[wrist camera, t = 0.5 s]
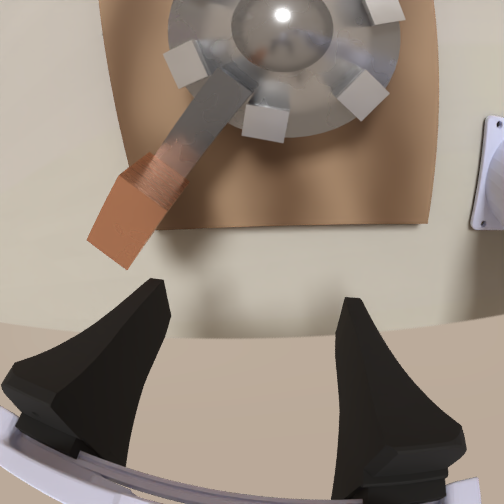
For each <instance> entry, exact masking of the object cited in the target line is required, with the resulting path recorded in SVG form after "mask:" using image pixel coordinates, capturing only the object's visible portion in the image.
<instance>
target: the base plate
mask: <svg viewBox="0 0 504 504" xmlns="http://www.w3.org/2000/svg"><path fill="white" fill-rule="evenodd" d="M398 1H399V4H400V6H401V9H402V11H403V14H404V17H405V19H406V20H404V21H400V22H399V25H400V51H399V58H398V61H397V65H396V68H395V71H394V73H393V75H392V77H391V80H390V82H389V84H388V85H387V87H386V88H385V89H386V90H387V91H388V92H389V93H390V94H389V95H388V96H387V97H386V98H385V99H384V100H383V101H382V102H381V103H380V104H379V105H377V106H376V107H375V108H374V109H373V110H372V111H371V112H370V113H369V114H368V115H367V116H366V117H365V118H364V119H363V120H362V121H360V120H359V119H358V118H357V117H356V118H355V119H353V120H352V121H350V122H348V123H346V124H344V125H342V126H340V127H338V128H336V129H333V130H330V131H327V132H324V133H320V134H316V135H311V136H304V137H294V138H288V137H285V138H284V143H279V142H274V141H269V140H264V139H258V138H253V137H247V136H242V129H240V128H237V127H235V126H233V125H231V124H229V123H228V124H227V125H226V126H225V127H224V128H223V130H222V131H221V132H220V134H219V135H218V136H217V137H216V139H215V140H214V141H213V142H212V144H211V145H210V146H209V148H208V149H207V150H206V151H205V153H204V154H203V155H202V157H201V158H200V159H199V161H198V162H197V163H196V165H195V166H194V167H193V169H192V170H191V171H190V173H189V174H188V175H187V177H186V179H187V180H188V181H190V182H189V184H188V185H187V186H186V188H185V189H184V190H183V192H182V193H181V195H180V196H179V197H178V199H177V200H176V201H175V203H174V204H173V206H172V207H171V208H170V210H169V211H168V213H167V214H166V215H165V217H164V218H163V220H162V221H161V222H160V224H159V225H158V227H157V228H156V230H173V229H195V228H220V227H249V226H283V225H328V224H428V217H429V211H430V204H431V197H432V189H433V181H434V172H435V161H436V150H437V135H438V113H439V64H438V43H437V29H436V18H435V9H434V1H433V0H398ZM172 3H173V0H99V8H100V16H101V24H102V31H103V38H104V45H105V51H106V58H107V64H108V70H109V75H110V81H111V86H112V91H113V97H114V102H115V107H116V111H117V116H118V121H119V125H120V130H121V134H122V139H123V143H124V147H125V151H126V156H127V160H128V164H129V167H130V166H131V165H133V164H134V163H135V162H137V161H138V160H139V159H141V158H142V157H143V156H145V155H146V154H147V153H149V152H151V153H152V154H153V155H155V154H156V152H157V151H158V149H159V148H160V146H161V145H162V143H163V142H164V140H165V139H166V137H167V136H168V134H169V133H170V131H171V130H172V128H173V127H174V125H175V124H176V123H177V121H178V120H179V118H180V117H181V115H182V114H183V113H184V111H185V110H186V108H187V107H188V106H189V104H190V103H191V101H192V100H193V99H194V97H193V96H192V95H191V93H190V92H189V91H188V89H187V88H186V87H184V88H180V89H178V87H177V85H176V82H175V80H174V78H173V76H172V74H171V71H170V69H169V67H168V65H167V63H166V60H165V58H164V56H163V54H164V53H166V52H168V51H169V50H170V49H169V43H168V19H169V14H170V10H171V5H172Z"/></svg>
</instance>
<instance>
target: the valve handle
mask: <svg viewBox="0 0 504 504" xmlns="http://www.w3.org/2000/svg"><path fill="white" fill-rule="evenodd" d="M404 20H406V19H405V17H404V14H403V11H402V9H401V6H400V4H399V1H398V0H173V3H172V5H171V10H170V14H169V19H168V43H169V49H170V50H169V51H168V52H166V53H164V54H163V56H164V58H165V60H166V63H167V65H168V67H169V69H170V71H171V74H172V76H173V78H174V80H175V82H176V85H177V87H178V89H180V88H184V87H186V88H187V89H188V91H189V92H190V93H191V95H192V96H193V97H194V99H193V100H192V101H191V103H190V104H189V106H188V107H187V108H186V110H185V111H184V113H183V114H182V115H181V117H180V118H179V120H178V121H177V123H176V124H175V125H174V127H173V128H172V130H171V131H170V133H169V134H168V136H167V137H166V139H165V140H164V142H163V143H162V145H161V146H160V148H159V149H158V151H157V152H156V154H155V155H153V154H152V153H151V152H149V153H147V154H146V155H145V156H143V157H142V158H141V159H139V160H138V161H137V162H135V163H134V164H133V165H131V166H130V167H129V168H128V169H126V170H125V171H124V172H123V173H121V174H120V175H119V176H118V178H117V180H116V182H115V184H114V185H113V187H112V189H111V191H110V193H109V195H108V197H107V199H106V201H105V203H104V205H103V207H102V209H101V211H100V213H99V215H98V217H97V219H96V221H95V223H94V225H93V227H92V230H91V232H90V234H89V236H88V238H87V241H88V242H90V243H91V244H92V245H94V246H95V247H96V248H98V249H99V250H100V251H102V252H103V253H104V254H106V255H107V256H108V257H110V258H111V259H112V260H114V261H115V262H117V263H118V264H119V265H121V266H122V267H123V268H125V269H126V270H128V268H129V267H130V265H131V264H132V262H133V261H134V260H135V258H136V257H137V255H138V254H139V252H140V251H141V250H142V248H143V247H144V245H145V244H146V242H147V241H148V240H149V238H150V237H151V235H152V234H153V233H154V231H155V230H156V228H157V227H158V225H159V224H160V222H161V221H162V220H163V218H164V217H165V215H166V214H167V213H168V211H169V210H170V208H171V207H172V206H173V204H174V203H175V201H176V200H177V199H178V197H179V196H180V195H181V193H182V192H183V190H184V189H185V188H186V186H187V185H188V184H189V182H190V181H188V180H187V179H186V177H187V175H188V174H189V173H190V171H191V170H192V169H193V167H194V166H195V165H196V163H197V162H198V161H199V159H200V158H201V157H202V155H203V154H204V153H205V151H206V150H207V149H208V148H209V146H210V145H211V144H212V142H213V141H214V140H215V139H216V137H217V136H218V135H219V134H220V132H221V131H222V130H223V128H224V127H225V126H226V125H227V124H228V123H229V124H231V125H233V126H235V127H237V128H240V129H242V136H247V137H253V138H258V139H264V140H269V141H274V142H279V143H284V138H285V137H288V138H294V137H304V136H311V135H316V134H320V133H324V132H327V131H330V130H333V129H336V128H338V127H340V126H342V125H344V124H346V123H348V122H350V121H352V120H353V119H355V118H356V117H357V118H358V119H359V120H360V121H362V120H363V119H364V118H365V117H366V116H367V115H368V114H369V113H370V112H371V111H372V110H373V109H374V108H375V107H376V106H377V105H379V104H380V103H381V102H382V101H383V100H384V99H385V98H386V97H387V96H388V95H389V94H390V93H389V92H388V91H387V90H386V89H385V88H386V87H387V85H388V84H389V82H390V80H391V77H392V75H393V73H394V71H395V68H396V65H397V61H398V58H399V51H400V25H399V22H400V21H404Z"/></svg>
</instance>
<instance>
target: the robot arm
mask: <svg viewBox="0 0 504 504" xmlns="http://www.w3.org/2000/svg"><path fill="white" fill-rule="evenodd" d="M498 121H499V123H500V124H499V126H498V127H497V125H496V124H497V122H498ZM482 221H484V223H483V224H481V222H482ZM470 224H471V226H472V228H473V229H475V230H504V117H500V116H494V115H489V116H487V117H486V119H485V127H484V139H483V148H482V157H481V165H480V172H479V178H478V185H477V191H476V196H475V202H474V207H473V212H472V217H471V221H470ZM170 318H171V312H170V308H169V303H168V299H167V294H166V289H165V284H164V280H161V279H153V278H150V279H149V280H147V281H146V282H145V283H144V284H143V285H141V286H140V287H139V288H138V289H137V290H136V291H134V292H133V293H132V294H131V295H130V296H129V297H127V298H126V299H125V300H124V301H123V302H121V303H120V304H119V305H118V306H117V307H116V308H114V309H113V310H112V311H110V312H109V313H108V314H107V315H105V316H104V317H103V318H101V319H100V320H99V321H97V322H96V323H95V324H93V325H92V326H90V327H89V328H87V329H86V330H84V331H83V332H81V333H80V334H78V335H76V336H75V337H73V338H71V339H69V340H67V341H66V342H64V343H62V344H60V345H58V346H56V347H54V348H52V349H50V350H48V351H45V352H43V353H41V354H38V355H36V356H33V357H30V358H27V359H24V360H21V361H19V362H15V363H14V365H13V366H12V368H11V369H10V371H9V373H8V374H7V376H6V377H5V379H4V381H3V382H2V384H1V387H2V390H3V392H4V393H5V394H6V396H7V397H8V398H9V399H10V400H11V401H12V402H13V403H14V405H15V406H16V407H17V408H18V409H19V410H20V411H21V412H22V413H21V415H20V417H18V416H17V415H15V414H14V413H12V412H11V411H9V410H7V409H5V408H4V407H2V406H0V466H1V467H3V468H4V469H5V470H7V471H8V472H10V473H11V474H13V475H15V476H16V477H18V478H19V479H21V480H22V481H24V482H26V483H27V484H29V485H31V486H32V487H34V488H36V489H37V490H39V491H41V492H43V493H45V494H46V495H48V496H50V497H52V498H54V499H56V500H57V501H59V502H61V503H63V504H162V503H158V502H155V501H150V500H147V499H143V498H140V497H138V496H136V495H135V494H133V493H132V492H131V490H130V489H127V488H125V487H123V486H126V487H129V488H132V489H135V490H138V491H141V492H145V493H148V494H151V495H155V496H158V497H162V498H165V499H169V500H174V501H177V502H181V503H186V504H481V496H480V487H479V480H478V477H473V478H469V479H465V480H460V481H456V482H453V483H449V484H447V485H445V478H447V477H448V467H449V466H450V465H452V464H453V463H454V462H456V461H457V460H458V459H460V458H461V457H462V456H463V455H464V454H465V452H466V450H467V449H466V443H465V437H464V433H463V430H462V426H461V425H460V424H459V423H457V422H456V421H455V420H453V419H452V418H451V417H450V416H448V415H447V414H446V413H445V412H443V411H442V410H441V409H440V408H439V407H438V406H437V405H436V404H435V403H433V402H432V401H431V400H430V399H429V398H428V397H427V396H426V395H425V394H424V392H423V391H422V390H420V388H419V387H418V386H417V385H416V384H415V383H414V382H413V380H412V379H411V378H410V377H409V376H408V374H407V373H406V372H405V371H404V369H403V368H402V367H401V365H400V364H399V363H398V361H397V360H396V358H395V357H394V355H393V354H392V352H391V351H390V350H389V348H388V346H387V345H386V343H385V342H384V340H383V338H382V337H381V335H380V333H379V331H378V330H377V328H376V326H375V324H374V323H373V321H372V319H371V317H370V315H369V313H368V311H367V309H366V308H365V306H364V304H363V302H362V300H361V299H360V298H349V297H345V299H344V303H343V307H342V311H341V315H340V318H339V322H338V326H337V330H336V340H335V359H336V370H337V379H338V380H337V381H338V392H339V407H340V416H339V435H338V449H337V459H336V468H335V476H334V483H333V490H332V496H331V500H307V499H288V498H274V497H263V496H254V495H246V494H239V493H232V492H226V491H219V490H214V489H208V488H203V487H198V486H193V485H188V484H184V483H180V482H176V481H171V480H168V479H164V478H160V477H156V476H153V475H149V474H145V473H142V472H139V471H136V470H133V469H130V468H126V461H127V454H128V448H129V442H130V437H131V432H132V427H133V423H134V419H135V414H136V411H137V407H138V403H139V400H140V396H141V393H142V389H143V386H144V384H145V381H146V378H147V376H148V374H149V371H150V369H151V367H152V365H153V363H154V360H155V358H156V356H157V354H158V351H159V349H160V347H161V345H162V342H163V340H164V338H165V335H166V332H167V329H168V325H169V322H170ZM111 481H112V482H111ZM116 483H117V484H116ZM118 484H120V485H123V486H120V485H118Z"/></svg>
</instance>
